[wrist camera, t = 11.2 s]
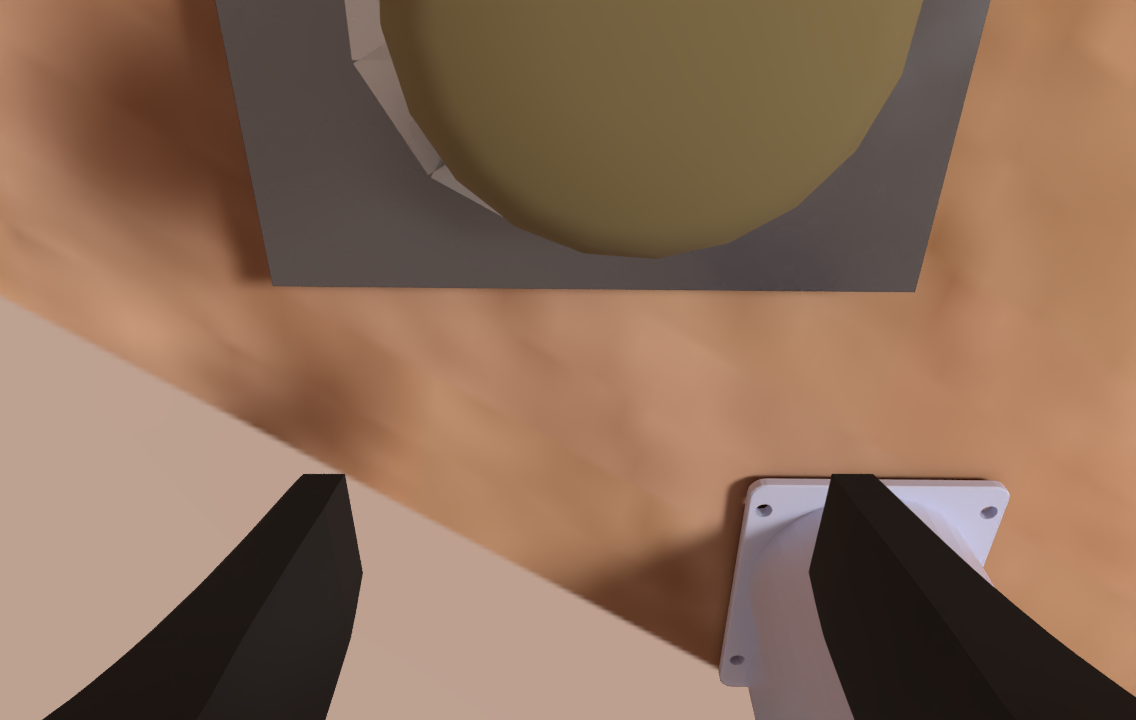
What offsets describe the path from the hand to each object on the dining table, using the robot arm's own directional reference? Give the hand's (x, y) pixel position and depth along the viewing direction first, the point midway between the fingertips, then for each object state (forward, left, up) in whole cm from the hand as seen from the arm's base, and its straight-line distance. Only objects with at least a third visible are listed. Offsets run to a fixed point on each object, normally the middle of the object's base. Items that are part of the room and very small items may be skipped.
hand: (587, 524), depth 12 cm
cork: (+7, 0, -9) cm, 12 cm away
